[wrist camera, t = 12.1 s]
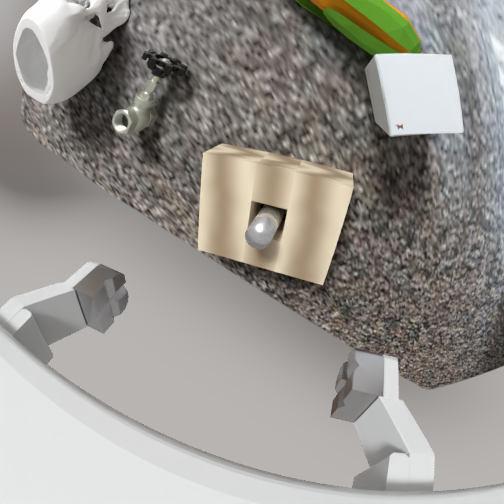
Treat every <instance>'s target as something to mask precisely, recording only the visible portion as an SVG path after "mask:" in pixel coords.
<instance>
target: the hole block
mask: <svg viewBox="0 0 504 504" xmlns="http://www.w3.org/2000/svg"><path fill="white" fill-rule="evenodd" d="M353 188H354V186H353V173H350V172H346V171H343V170H339V169H335V168H332V167H328V166H324V165H320V164H316V163H312V162H308V161H304V160H300V159H296V158H292V157H287V156H283V155H278V154H274V153H269V152H264V151H259V150H254V149H249V148H244V147H239V146H233V145H227V144H220V145H218V146H216V147H214V148H212V149H210V150H208V151H206V152H204V153H203V162H202V176H201V193H200V211H199V233H198V249H199V250H202V251H205V252H209V253H212V254H216V255H219V256H222V257H226V258H229V259H233V260H236V261H240V262H243V263H247V264H250V265H253V266H257V267H260V268H264V269H267V270H271V271H274V272H278V273H281V274H285V275H288V276H292V277H295V278H299V279H303V280H306V281H310V282H313V283H317V284H320V285H323V283H324V280H325V278H326V275H327V272H328V269H329V266H330V263H331V260H332V257H333V254H334V251H335V248H336V245H337V242H338V238H339V235H340V232H341V229H342V226H343V222H344V219H345V216H346V212H347V209H348V206H349V202H350V199H351V195H352V192H353ZM261 203H263V204H267V205H271V206H275V207H279V208H283V209H287V215H286V220H282V221H281V223H280V225H279V226H278V228H277V230H276V232H275V234H274V236H273V238H272V240H271V242H270V244H269V246H268V247H266V248H264V249H255V248H253V247H251V246H250V245H249V244H248V243H247V241H246V239H245V232H246V230H247V229H248V227H249V226H250V224H251V223H252V221H253V220H254V219H255V217H256V216H257V214H258V213H259V211H260V208H261Z"/></svg>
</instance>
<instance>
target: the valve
mask: <svg viewBox="0 0 504 504" xmlns="http://www.w3.org/2000/svg"><path fill="white" fill-rule="evenodd" d="M147 58H149V60H148V62H147V65H148V67H149V68H150V69H151V70H152V74H153V75H154V76H153V78H152V79H148V80H147V82H146V84H145V86H144V87H145V89H146V90H144V91H142V92H139V93H137V94H136V96H135V98H134V102H135V103H134V105H131V106H129V107H127V108H126V109H120V110H117V111H116V112H115V114H114V116H113V119H112V124H113V127H114V129H115V131H116V132H117V133H122V134H127V133H130V132H138V131H141V130H143V129H144V128H145V127H150V126H153V125H154V123H155V121H156V119H157V117H158V113H157V111H156V109H155V107H154V105H153V104H154V102H155V99H154V98H153V97H154V95H153V94H152V93H153V92H156V91H157V89H158V87H159V86H160V83H159V82H158V81H159V79H160V78H164V77H166V76H168V75H169V74H170V72H171V70H172V71H177V73H176V75H178V76H182V75H183V73H185V72H186V70H187V69H188V67H187V66H185V65H183V64H180V62H181V61H180V60H178V59H175V58H174V59H172V58H169V57H168V55H167V54H165V53H161V54H158V53H156V52H155V51H154V50H149V51H148V52H147V51H145V52H144V54H143V56H142V59H144V60H146V59H147Z"/></svg>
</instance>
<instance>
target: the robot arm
mask: <svg viewBox="0 0 504 504" xmlns="http://www.w3.org/2000/svg"><path fill="white" fill-rule="evenodd" d="M125 282H126V281H125V276H124V274H122V273H120V272H118V271H115V270H113V269H111V268H109V267H106V266H104V265H102V264H99V263H97V262H95V261H89V262H88V263H86V264H85V265H84V266H83V267H82V268H80V269H79V270H78V271H77V272H76V273H75V274H73V275H72V276H71V277H70V278H69V279H68V280H67V281H65V282H64V283H61V282H60V283H57V284H53V285H50V286H47V287H44V288H41V289H37V290H35V291H31V292H28V293H25V294H21V295H19V296H15V297H12V298H11V299H10V300H9V301H8V302H7V303H6V304H5V305H4V306H3V307H2V308H1V309H0V504H504V483H501V484H496V485H490V486H484V487H477V488H468V489H459V490H447V491H433V483H434V460H435V457H434V456H435V455H434V452H433V451H432V449H431V447H430V445H429V444H428V442H427V440H426V439H425V437H424V435H423V433H422V432H421V430H420V428H419V427H418V425H417V423H416V422H415V420H414V418H413V417H412V415H411V413H410V412H409V410H408V408H407V407H406V405H405V403H404V402H403V401H402V400H399V380H398V379H399V377H398V360H397V358H396V357H392V356H387V355H382V354H379V353H374V352H370V351H365V350H361V349H357V348H353V349H352V350H351V352H350V354H349V357H348V362H345V363H344V364H343V365H342V367H341V369H340V372H339V374H338V377H337V381H336V387H335V390H336V392H337V393H338V394H337V395H336V397H335V398H334V400H333V404H332V410H331V417H332V418H336V419H341V420H345V421H349V422H354V426H355V429H356V431H357V434H358V436H359V439H360V442H361V444H362V447H363V450H364V452H365V455H366V458H367V460H368V463H369V466H370V468H369V469H367V470H365V471H364V472H362V473H360V474H358V475H357V476H355V477H354V481H353V486H352V488H347V487H339V486H333V485H326V484H320V483H315V482H309V481H303V480H299V479H295V478H290V477H286V476H281V475H277V474H273V473H269V472H266V471H262V470H258V469H255V468H252V467H248V466H245V465H242V464H238V463H235V462H232V461H229V460H226V459H223V458H221V457H218V456H215V455H212V454H210V453H207V452H204V451H202V450H199V449H197V448H194V447H191V446H189V445H187V444H184V443H182V442H180V441H177V440H175V439H173V438H170V437H168V436H166V435H164V434H162V433H160V432H158V431H155V430H153V429H151V428H149V427H147V426H145V425H143V424H141V423H139V422H137V421H135V420H134V419H131V418H130V417H128V416H126V415H124V414H123V413H121V412H119V411H117V410H115V409H114V408H112V407H110V406H108V405H106V404H105V403H103V402H102V401H100V400H99V399H97V398H95V397H94V396H92V395H90V394H89V393H87V392H86V391H84V390H83V389H81V388H79V387H78V386H77V385H75V384H74V383H72V382H71V381H69V380H68V379H66V378H65V377H63V376H62V375H61V374H59V373H58V372H57V371H55V370H54V369H53V368H51V367H50V366H49V365H47V364H48V362H49V361H50V360H51V359H52V358H53V354H52V352H51V350H50V348H49V346H48V345H50V344H52V343H54V342H56V341H58V340H60V339H62V338H64V337H67V336H68V335H71V334H73V333H75V332H77V331H79V330H81V329H83V328H85V327H87V325H88V326H89V327H91V328H93V329H95V330H97V331H99V332H101V333H105V332H106V330H107V329H108V328H109V327H110V326H111V325H112V324H113V322H114V317H115V316H117V315H120V314H121V313H122V312H123V311H124V310H125V308H126V305H127V303H128V292H127V290H126V288H125V287H124V284H125Z"/></svg>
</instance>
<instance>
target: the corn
mask: <svg viewBox="0 0 504 504" xmlns="http://www.w3.org/2000/svg"><path fill="white" fill-rule="evenodd" d="M295 1H297V2H298V3H299V4H300V5H301V6H303V7H304V8H306V9H307V10H309V11H310V12H312V13H313V14H314V15H316V16H317V17H319V18H320V19H322V20H323V21H324V22H326V23H327V24H329V25H330V26H332V27H333V28H335V29H336V30H338V31H339V32H341V33H342V34H344V35H345V36H346V37H347V38H348V39H350V40H351V41H352V42H354V43H355V44H357V45H358V46H360V47H361V48H362V49H364V50H365V51H367V52H368V53H369V54H371V55H373V56H374V55H375V54H393V53H416V54H421V40H420V38H419V37H418V35H417V33H416V31H415V30H414V28H413V26H412V24H411V23H410V21H409V19H408V18H407V16H405V15H404V14H403V13H401V12H400V11H399V10H397V9H396V8H395V7H393V6H392V5H390V4H389V3H388V2H386V1H385V0H310V1H311V2H313V3H314V4H313V3H311V2H310V1H308V0H295ZM316 5H317V6H316Z"/></svg>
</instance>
